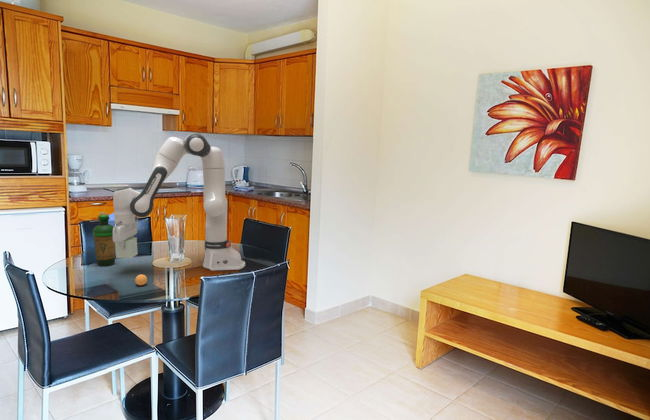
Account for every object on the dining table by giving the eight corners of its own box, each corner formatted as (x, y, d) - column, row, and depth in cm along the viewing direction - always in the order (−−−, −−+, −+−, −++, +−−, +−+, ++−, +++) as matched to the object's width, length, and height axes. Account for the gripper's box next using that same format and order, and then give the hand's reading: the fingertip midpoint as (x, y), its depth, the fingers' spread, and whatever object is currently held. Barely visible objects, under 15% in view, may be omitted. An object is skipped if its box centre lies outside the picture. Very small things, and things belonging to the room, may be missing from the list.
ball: (148, 283, 193) (148, 273, 192) (144, 287, 188) (144, 276, 187) (138, 283, 192) (137, 272, 192) (133, 286, 188) (133, 276, 187)
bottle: (101, 268, 212) (98, 215, 208) (90, 264, 218) (87, 212, 213) (121, 263, 221) (119, 212, 217) (110, 260, 227) (107, 210, 222)
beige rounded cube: (137, 254, 211) (136, 237, 209) (131, 258, 204) (130, 240, 202) (123, 254, 211) (121, 237, 209) (116, 258, 203) (115, 240, 202)
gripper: (121, 224, 194) (123, 252, 196) (139, 216, 214) (140, 242, 216) (107, 224, 194) (110, 252, 196) (127, 216, 214) (128, 242, 216)
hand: (126, 247), depth 206 cm, fingers closed on beige rounded cube, 7 cm apart
